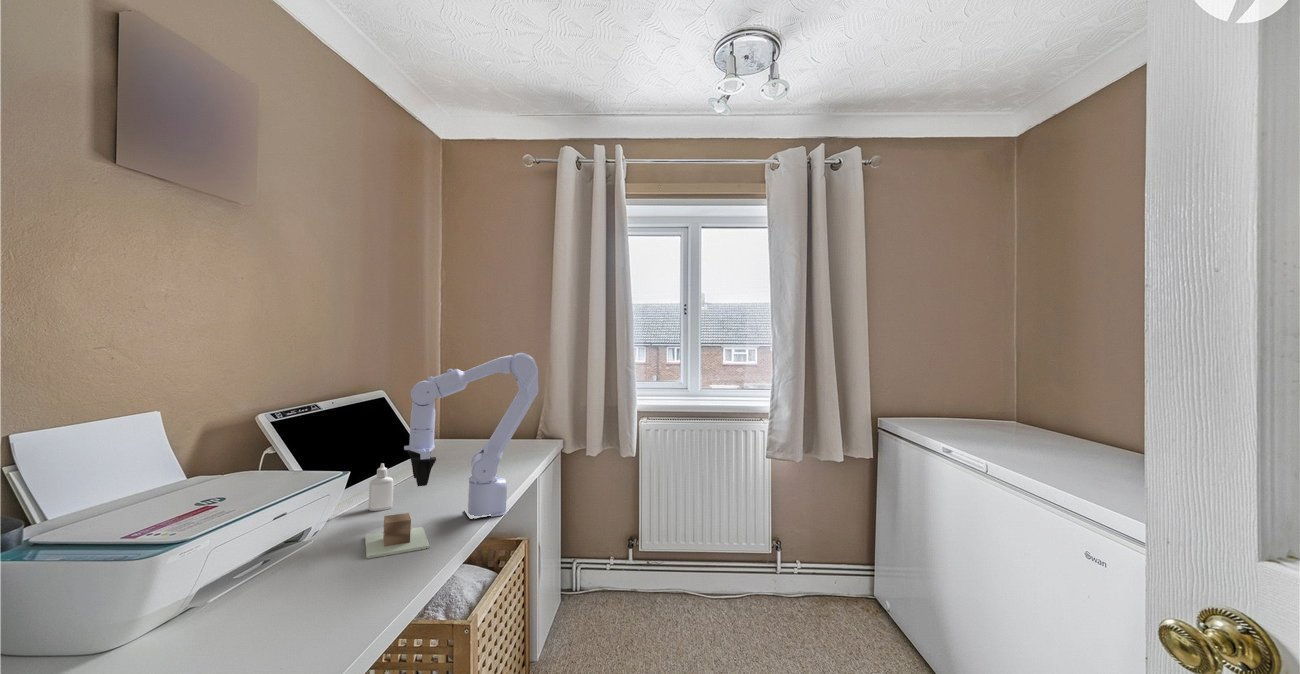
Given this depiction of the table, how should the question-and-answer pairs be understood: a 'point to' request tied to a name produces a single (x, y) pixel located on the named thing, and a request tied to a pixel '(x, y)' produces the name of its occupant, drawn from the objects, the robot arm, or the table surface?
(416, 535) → the sage board
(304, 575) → the table surface
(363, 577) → the table surface
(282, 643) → the table surface
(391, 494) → the eye dropper bottle
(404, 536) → the walnut cube
